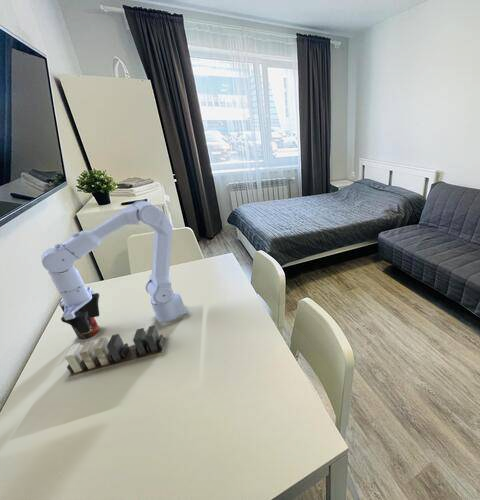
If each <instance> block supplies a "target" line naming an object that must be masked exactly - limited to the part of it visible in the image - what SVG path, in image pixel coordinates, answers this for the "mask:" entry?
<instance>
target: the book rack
mask: <svg viewBox="0 0 480 500" xmlns="http://www.w3.org/2000/svg"><path fill="white" fill-rule="evenodd" d="M165 340H166V337H164V335H163V334H159V331H158V329H157V326H156V325H155V324H154V325H151V326H148V328H147V331H145V329H144V327H142V328H138V329H136V331H135V334H134V336H133V338H132V341H133V343H134V345H130V346H129V344H128V343H127V342H126V343H124V341H123V339H122V337H121V334H120V333H115V334H112V335H111V337H110V339H108V337H107V336H104V337H99V338H98V340H97V341H96V342H95V340H94V339H90V340H87V341H85V343H84V345H83V346H82V349H81V351H80V352H79V354H80V356H81V357H82V359H83V361H82V363H81V365H82V366H83V370H82V371H80V372H76V373H74V371H73V370H72V368H71V366H70V365H69V363H68V365H66V369H67V370H68V372H69V373H70V374H69V375H68V377H69V378H70V377H73V376H77V375H81V374H85V373H88V372H92V371H96V370H101V369H104V368H108V367H111V366H115V365H119V364H122V363H123V364H124V363H126V362H130V361H134V360H138V359H141V358H145V357H149V356H153V355H157V354H160V353H163V348H164V344H165Z"/></svg>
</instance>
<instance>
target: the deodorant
mask: <svg viewBox="0 0 480 500" xmlns="http://www.w3.org/2000/svg"><path fill="white" fill-rule="evenodd" d="M62 302H63V300H61V301H60V302H59V307H60V309H61V310H62V312H63V313H64V306H61V305H60V304H61V303H62ZM78 311H79V312H81V313H82V312H86V311H85V309H84V308H83V307H81V308H80V309H79V310H78ZM95 318H96V317H93V318H91V317H90V316H89V315H88V314H87V319H88V323H89V326H90V331H89V332H85V333H80V332H79V331H78V330H77V329H76V328H74V327H73V326H71V328H72V329H73V332H74V333H75V335H76V337H77V338H78V340H81V341H82V340H88V339H91V338H93V337H94V336H96V335H97V334H99V333H100V331H101V328H100V327H99V324H98V322H97V321H96V319H95Z"/></svg>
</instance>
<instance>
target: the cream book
mask: <svg viewBox="0 0 480 500" xmlns="http://www.w3.org/2000/svg"><path fill="white" fill-rule="evenodd" d="M82 347H83V346H82V345H81V343H80V342H79V343H74V344H72V345H71V346H70V348H69V349H68V351H67V353H66V354H65V356H64V358H65V360H66V361H67V363H68V364H69V365H70V366H71V368H72V370H73V371H74V373H76V372H80V371H82V370H83V366H82V365H81V363H82V361H83V359H82V357H81V356H80V354H79V352H80V351H81V349H82Z"/></svg>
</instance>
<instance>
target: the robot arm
mask: <svg viewBox="0 0 480 500" xmlns="http://www.w3.org/2000/svg"><path fill="white" fill-rule="evenodd" d="M140 221H141V222H142V224H145V225H147V226H149V227H150V228H151V229H152V230H153V231H154V233H153V249H152V262H151V263H152V264H151V273H150V275H149V276H148V281H147V282H146V284H145V291H146V293H147V294H149V295H150V296H151V297H150V304H151V307H152V310H153V312H154V314H155V317H156V320H157V322H158V323H160V324H161V323H163V324H165V323H169V322H172V321H174V320H176V319H177V318H180V317H181V316H184V315H186V314H187V311H186V306H185V304H184V302H183V299H182V296H181V294H180V293H179V292H174V289H173V288H172V281H171V278H170V266H171V253H172V241H173V225H172V224H171V222H170V220H169V219H168V216H166V213H165V212H164V210H162V209H161V208H159V206H156V205H154V204H152V203H151V202H149V201H147V200H142V199H141V200H136V201H135V202H133V203H132V204H128V205H127V206H125V207H124V208H123V209H121V210H120V211H118V212H117V213H116V214H114V215H112V216H111V217H109V218H108V219H106V220H105V221H103V222H102V223H100V224H99V225H98V226H96V227H94V228H93V229H92V230H81V231H79V232H78V231H74V232H72V233H71V237H69V238H67V239H66V240H64V241H63V242H61V243H58V242H57V243H56V244H54V245H53V247H50V248H47V249H46V250H43V252H42V254H41V257H40V258H41V263H42V266H43V267H44V269H45V270H46V271H47V272H48V274H49V276H50V279H51V282H52V283H53V284H54V286H55V288H56V291H57V292H58V293H59V295H60V297H61V299H62V301H63V302H62V303H61V304H60V305H61V306H64V312H63V313H62V316H61V318H60V321H61V322H62V323H65V324H67V325H69V326H71V327H72V326H73V327H74V328H76V329H77V330H78V331H79V332H80V333H85V332H89V331H90V326H89V323H88V319H87V314H88V315H89V316H90V317H91V318H93V317H94V318H98V317H99V316H100V309H99V301H100V293H99V292H95V293H94V288H93V287H92V286H86V284H85V282H84V280H83V278H82V276H81V273H80V272H79V270H78V269H77V268H76V267H75V261H78V260H80V259H82V258H83V257H84V256H86V255H88V254H89V253H91V252H92V251H94V250H96V249H97V248H98V247H100V245H101V240H103V239H104V238H107V236H110V235H112V234H113V233H115V232H116V231H118V230H120V229H122V228H123V227H125V226H127V225H135V226H136V225H141V223H140ZM60 305H59V306H60ZM81 307H83V308H84V309H85V311H86V312H82V313H81V312H79V311H78V310H79V309H80V308H81Z"/></svg>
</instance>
